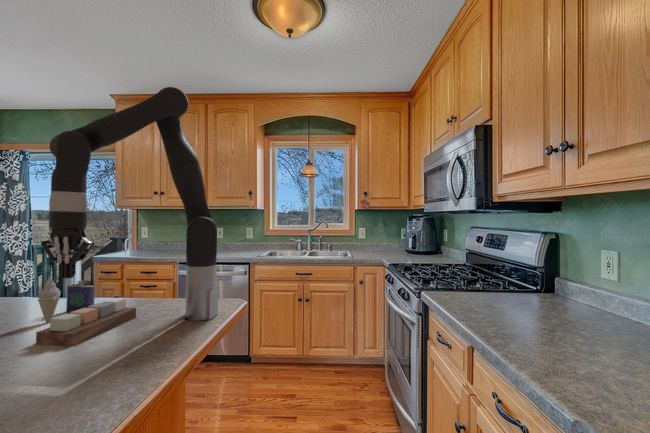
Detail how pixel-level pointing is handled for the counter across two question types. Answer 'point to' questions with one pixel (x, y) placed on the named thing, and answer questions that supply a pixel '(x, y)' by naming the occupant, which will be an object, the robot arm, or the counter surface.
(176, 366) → the counter surface
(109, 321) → the brown wooden tray
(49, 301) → the ice cream cone
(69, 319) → the sage key
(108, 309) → the slate key
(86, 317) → the terracotta key
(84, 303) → the flask
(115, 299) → the ivory key
